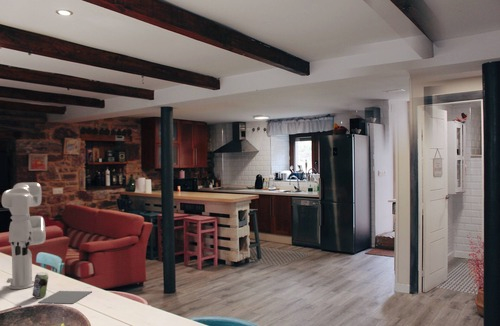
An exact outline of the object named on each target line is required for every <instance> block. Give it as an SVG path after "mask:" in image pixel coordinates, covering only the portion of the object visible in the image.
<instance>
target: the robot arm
mask: <svg viewBox="0 0 500 326" xmlns="http://www.w3.org/2000/svg"><path fill="white" fill-rule="evenodd" d="M42 195H43V194H42V186H41V184H40V183H38V182H36V181H35V182H33V181H32V182H18V183H15V184H14V185H13V187H12V188H11V189H7V190H5V191H4V192H2V196H1V205H2V207H3V208H5V209H8V210H9V212H10V214H11V216H10V219H11V220H12V221H10V223H9V228H8V230H9V231H8V243H10V248H11V272H12V273H11V275H12V277H11V278H7V279H6V282H5V283H7V284H9V283H10V285H8V287H9V289H11V290H23V289H28V288H29V289H30V288H32V287H34V281H35V280H33V259H32V258H33V254H32V251H31V250H30V249H29V246H35V245H36V246H38V245H42V244H44V243H45V242H46V237H47V235H46V234H47V233H46V223H45V219H44V217H43V216H42V215H31V214H30V208H31V207H32V208H33V207H39V206H40V205H41V204H42V197H43V196H42Z"/></svg>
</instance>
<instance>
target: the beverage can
mask: <svg viewBox="0 0 500 326" xmlns="http://www.w3.org/2000/svg"><path fill="white" fill-rule="evenodd" d="M33 281H34V286H33V288H32V295H31V296H33V298H37V299H41V298H44V297H46V295H47V290H48V289H47V288H48V282H49V274H48V273H47V272H43V271H42V272H36V275H35V276H34V280H33Z"/></svg>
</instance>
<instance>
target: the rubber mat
mask: <svg viewBox="0 0 500 326" xmlns="http://www.w3.org/2000/svg"><path fill="white" fill-rule="evenodd" d="M92 293H93V291H90V290H89V291H86V290H83V291H81V290H58V291H56V292H55V293H53V294H51V295H49V296H47V297H45V298H43V299H42V300H40V301H37V304H52V303H54V304H60V305H61V304H62V305H63V304H65V305H66V304H67V305H74V304H75V303H77V302H79V301H80V300H82V299H84V298H85V297H87V296H88V295H90V294H92Z"/></svg>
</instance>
